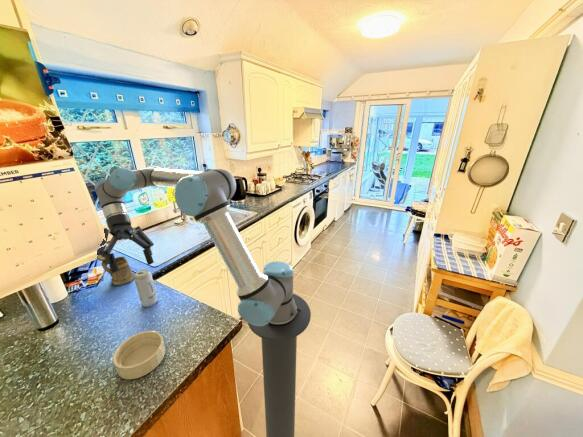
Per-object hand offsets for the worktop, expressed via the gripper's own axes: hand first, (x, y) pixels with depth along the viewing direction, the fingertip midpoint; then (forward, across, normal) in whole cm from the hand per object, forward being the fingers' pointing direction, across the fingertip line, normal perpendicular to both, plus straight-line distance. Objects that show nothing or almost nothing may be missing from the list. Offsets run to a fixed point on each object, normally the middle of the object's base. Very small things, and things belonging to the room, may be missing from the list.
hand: (134, 267), depth 89 cm
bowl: (+31, +9, +3) cm, 33 cm away
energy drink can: (+14, -9, -12) cm, 20 cm away
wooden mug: (-3, -14, -34) cm, 37 cm away
